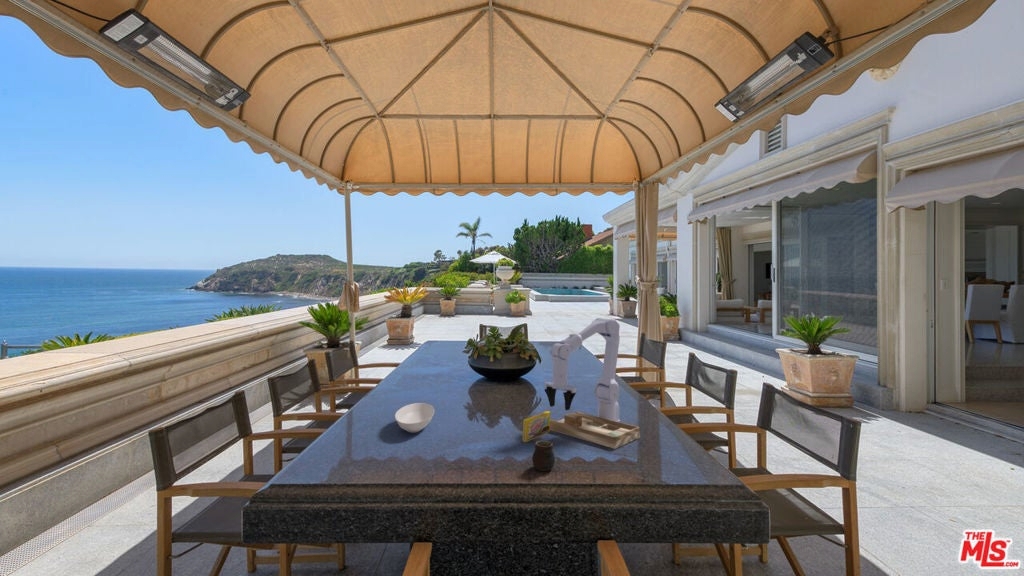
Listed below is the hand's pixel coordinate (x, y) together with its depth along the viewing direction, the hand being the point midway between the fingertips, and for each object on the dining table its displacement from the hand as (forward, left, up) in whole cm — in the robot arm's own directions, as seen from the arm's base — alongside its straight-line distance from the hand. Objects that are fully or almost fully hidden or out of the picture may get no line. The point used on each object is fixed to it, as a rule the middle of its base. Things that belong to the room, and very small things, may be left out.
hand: (559, 407), depth 184 cm
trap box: (-7, +12, -9) cm, 16 cm away
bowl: (+39, -42, -9) cm, 58 cm away
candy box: (+12, -1, -9) cm, 15 cm away
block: (-3, +5, -6) cm, 8 cm away
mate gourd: (+34, +21, -9) cm, 41 cm away
